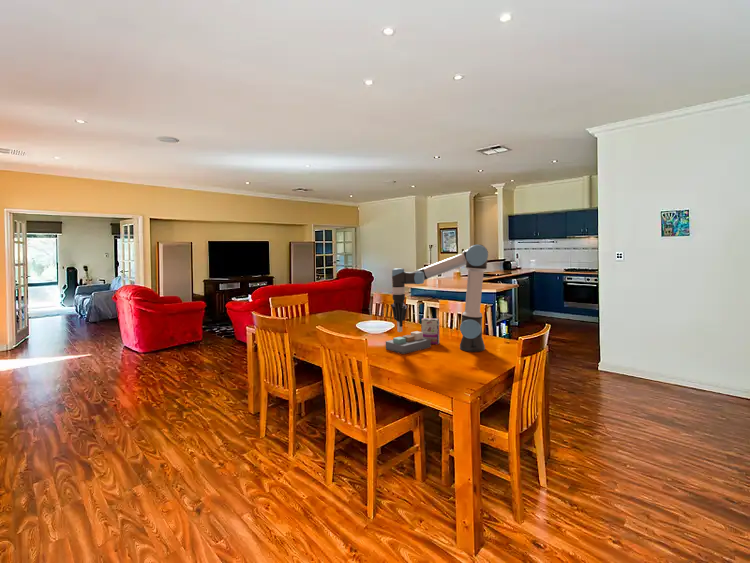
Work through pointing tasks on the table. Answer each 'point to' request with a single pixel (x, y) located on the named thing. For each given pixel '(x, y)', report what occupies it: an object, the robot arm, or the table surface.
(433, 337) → the candy bar box
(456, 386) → the table surface
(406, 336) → the walnut key
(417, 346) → the dark grey tray
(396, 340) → the teal key
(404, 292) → the robot arm
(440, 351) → the table surface
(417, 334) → the ivory key
